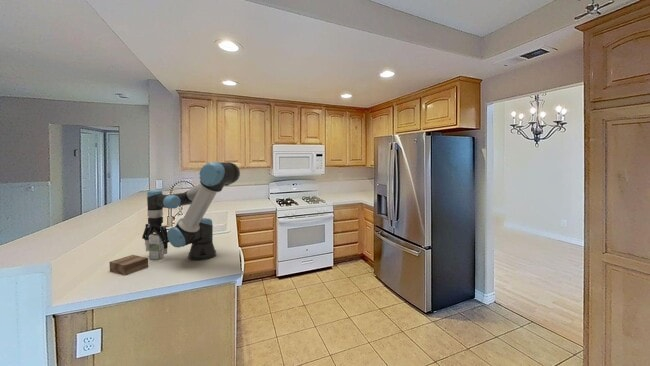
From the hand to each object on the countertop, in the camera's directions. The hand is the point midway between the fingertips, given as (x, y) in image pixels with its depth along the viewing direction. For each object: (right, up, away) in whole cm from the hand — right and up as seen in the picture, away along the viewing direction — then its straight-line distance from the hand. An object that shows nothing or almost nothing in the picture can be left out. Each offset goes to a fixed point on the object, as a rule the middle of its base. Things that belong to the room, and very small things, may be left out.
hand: (156, 252), depth 163 cm
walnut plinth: (-4, -5, -16) cm, 17 cm away
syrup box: (0, -4, 0) cm, 4 cm away
